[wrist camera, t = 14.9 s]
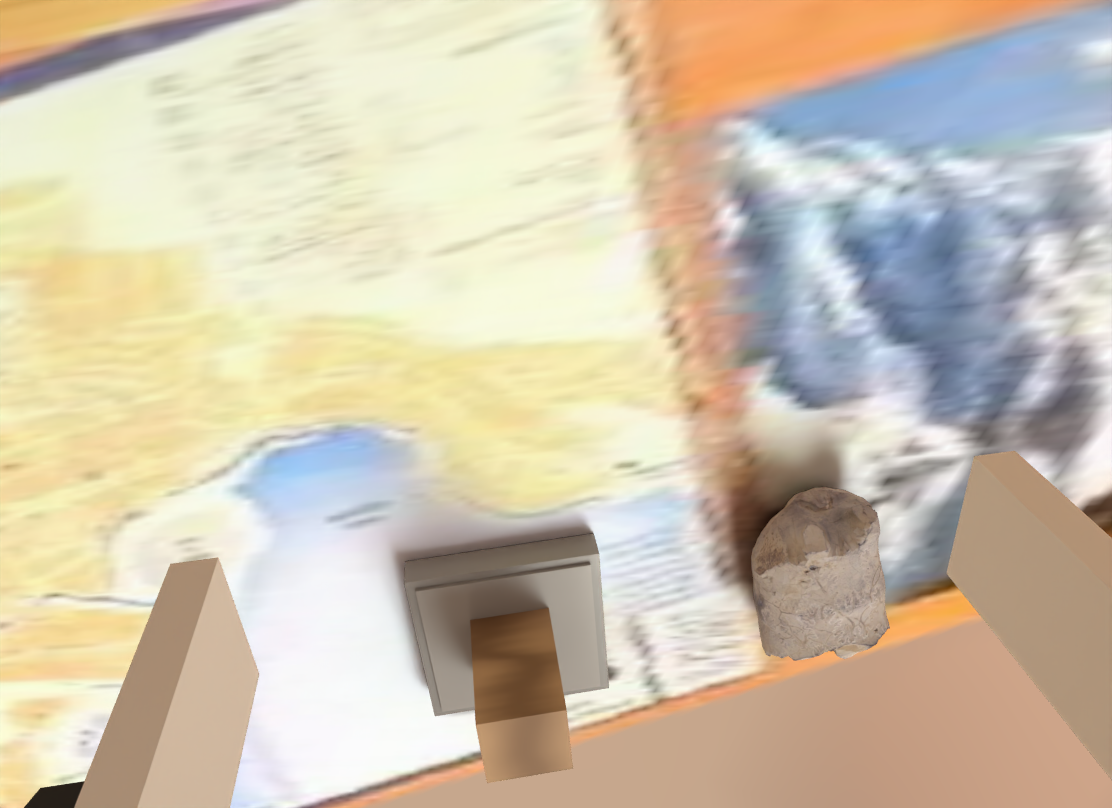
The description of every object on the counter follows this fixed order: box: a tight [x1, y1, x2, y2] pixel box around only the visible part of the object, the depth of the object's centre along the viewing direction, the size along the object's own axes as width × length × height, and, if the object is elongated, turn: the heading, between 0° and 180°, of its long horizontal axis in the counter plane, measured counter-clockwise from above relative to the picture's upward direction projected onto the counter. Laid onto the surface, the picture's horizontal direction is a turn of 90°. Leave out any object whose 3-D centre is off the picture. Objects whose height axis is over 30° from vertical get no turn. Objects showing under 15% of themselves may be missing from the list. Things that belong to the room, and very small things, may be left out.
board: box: [404, 533, 609, 716], centre depth 55 cm, size 12×12×2 cm
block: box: [470, 608, 573, 783], centre depth 50 cm, size 5×5×8 cm
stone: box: [751, 487, 890, 661], centre depth 53 cm, size 8×12×7 cm, turn 14°
